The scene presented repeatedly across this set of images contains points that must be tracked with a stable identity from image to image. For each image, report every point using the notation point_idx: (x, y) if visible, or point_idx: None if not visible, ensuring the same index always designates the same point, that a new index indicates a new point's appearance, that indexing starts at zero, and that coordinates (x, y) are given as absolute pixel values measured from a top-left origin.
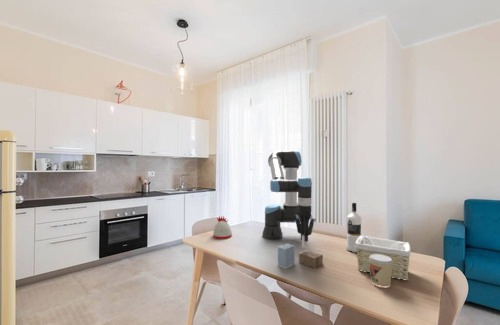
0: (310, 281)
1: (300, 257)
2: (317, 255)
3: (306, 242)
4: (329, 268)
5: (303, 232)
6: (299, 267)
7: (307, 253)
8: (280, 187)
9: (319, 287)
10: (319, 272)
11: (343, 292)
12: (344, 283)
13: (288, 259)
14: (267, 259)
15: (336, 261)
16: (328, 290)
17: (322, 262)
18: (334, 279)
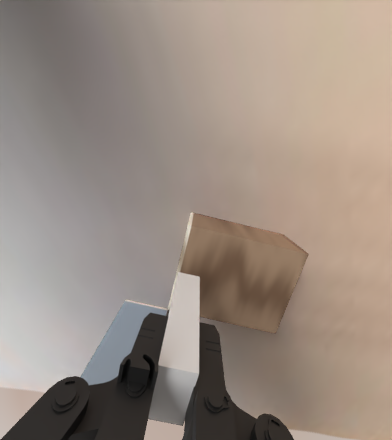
0: (271, 399)
1: None
2: (280, 286)
3: (198, 302)
4: (323, 272)
5: (137, 420)
6: None
7: (215, 287)
8: None
9: (306, 417)
10: (287, 328)
11: (381, 411)
12: (387, 362)
13: None
14: (44, 324)
15: (353, 164)
16: (335, 420)
17: (285, 236)
18: (350, 352)
